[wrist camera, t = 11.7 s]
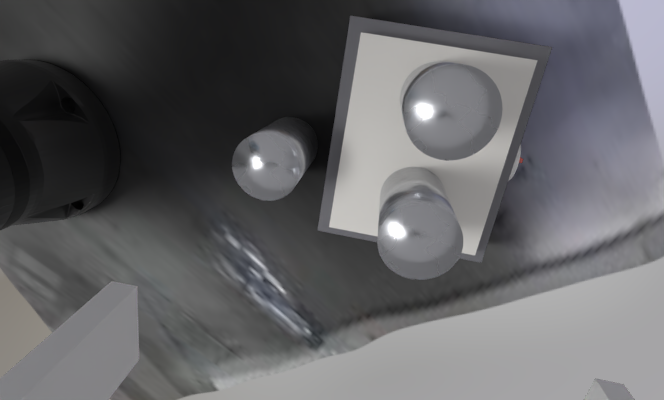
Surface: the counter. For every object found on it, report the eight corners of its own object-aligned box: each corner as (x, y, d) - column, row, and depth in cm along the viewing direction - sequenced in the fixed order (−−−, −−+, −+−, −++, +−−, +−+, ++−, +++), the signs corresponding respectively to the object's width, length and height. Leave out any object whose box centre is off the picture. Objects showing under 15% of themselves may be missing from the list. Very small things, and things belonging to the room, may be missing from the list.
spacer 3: (374, 220, 32) (370, 270, 25) (386, 161, 30) (386, 196, 23) (436, 232, 32) (451, 286, 24) (452, 173, 30) (473, 212, 23)
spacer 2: (393, 126, 29) (395, 151, 22) (408, 55, 28) (415, 56, 20) (461, 138, 29) (486, 168, 22) (480, 67, 27) (515, 72, 20)
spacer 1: (261, 165, 37) (230, 193, 30) (266, 112, 35) (234, 127, 28) (314, 175, 37) (295, 206, 29) (321, 121, 35) (303, 140, 28)
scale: (324, 213, 38) (315, 235, 33) (354, 20, 32) (348, 14, 27) (479, 243, 37) (492, 270, 32) (541, 49, 31) (568, 48, 26)
